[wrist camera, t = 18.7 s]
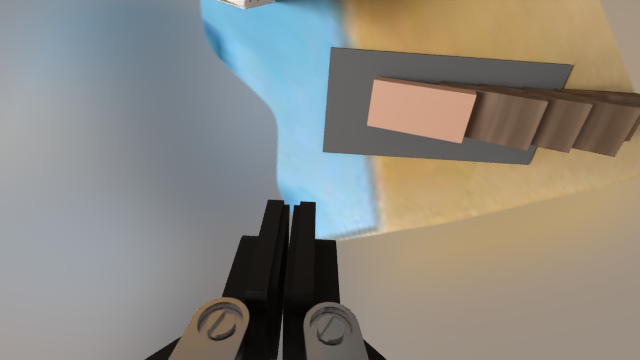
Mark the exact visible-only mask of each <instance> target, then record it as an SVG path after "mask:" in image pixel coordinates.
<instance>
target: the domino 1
mask: <svg viewBox="0 0 640 360" xmlns="http://www.w3.org/2000/svg"><path fill="white" fill-rule="evenodd" d="M476 96H477V94H476V91H474V90H467V89H460V88H454V87H447V86H440V85H433V84H426V83H420V82H413V81H406V80H399V79H392V78H386V77H379V76H378V77H376V78H375V79H374V83H373V89H372V96H371V102H370V109H369V115H368V122H367V126H372V127H378V128H383V129H388V130H393V131H399V132H404V133H409V134H414V135H420V136H425V137H430V138H435V139H440V140H446V141H451V142H456V143H462V140H463V137H464V133H465V130H466V127H467V124H468V121H469V118H470V115H471V112H472V108H473V105H474V102H475V99H476Z"/></svg>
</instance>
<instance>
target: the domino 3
mask: <svg viewBox="0 0 640 360" xmlns="http://www.w3.org/2000/svg"><path fill="white" fill-rule="evenodd" d="M479 87H484V88H491V89H497V90H503V91H509V92H516V93H522V94H528V95H534V96H541V97H546V98H547V100H548V104H547V106H546V109H545V111H544V113H543V116H542V118H541V120H540V122H539V125H538V127H537V129H536V132H535V134H534V136H533V139H532V141H531V143H530V145H533V146H537V147H542V148H547V149H551V150H556V151H561V152H566V153H569V151H570V149H571V147H572V145H573V143H574V141H575V139H576V137H577V136H578V134H579V132H580V130H581V128H582V126H583V124H584V122H585V120H586V118H587V116H588V114H589V112H590V110H591V108H592V106H593V104H592V103H591V102H590V101H589V100H584V99H578V98H571V97H565V96H559V95H552V94H546V93H539V92H533V91H527V90H520V89H514V88H508V87H501V86H495V85H488V84H482V83H480V85H479Z"/></svg>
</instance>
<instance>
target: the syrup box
mask: <svg viewBox="0 0 640 360" xmlns="http://www.w3.org/2000/svg"><path fill="white" fill-rule="evenodd" d="M218 1H221V2H224V3H228V4H230V5H233V6H236V7H239V8H242V9H248V8H253V7H257V6H262V5H265V4H269V3H273V2H275V0H218Z"/></svg>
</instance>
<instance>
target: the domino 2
mask: <svg viewBox="0 0 640 360" xmlns="http://www.w3.org/2000/svg"><path fill="white" fill-rule="evenodd" d="M438 85H440V86H447V87H454V88H460V89H467V90H474V91H476V94H477V96H476V99H475V102H474V105H473V108H472V112H471V115H470V118H469V121H468V124H467V127H466V130H465V133H464V137H466V138H471V139H476V140H480V141H485V142H490V143H494V144H499V145H503V146H508V147H513V148H517V149H522V150H526V151H527V150H528V148H529V146H530V143H531V141H532V139H533V136H534V134H535V132H536V129H537V127H538V125H539V122H540V120H541V118H542V116H543V113H544V111H545V109H546V106H547V104H548V100H547V98H546V97H541V96H534V95H528V94H522V93H516V92H509V91H503V90H497V89H491V88H484V87H478V86H472V85H466V84H460V83H453V82H447V81H441V82H440V83H439V84H438Z"/></svg>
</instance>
